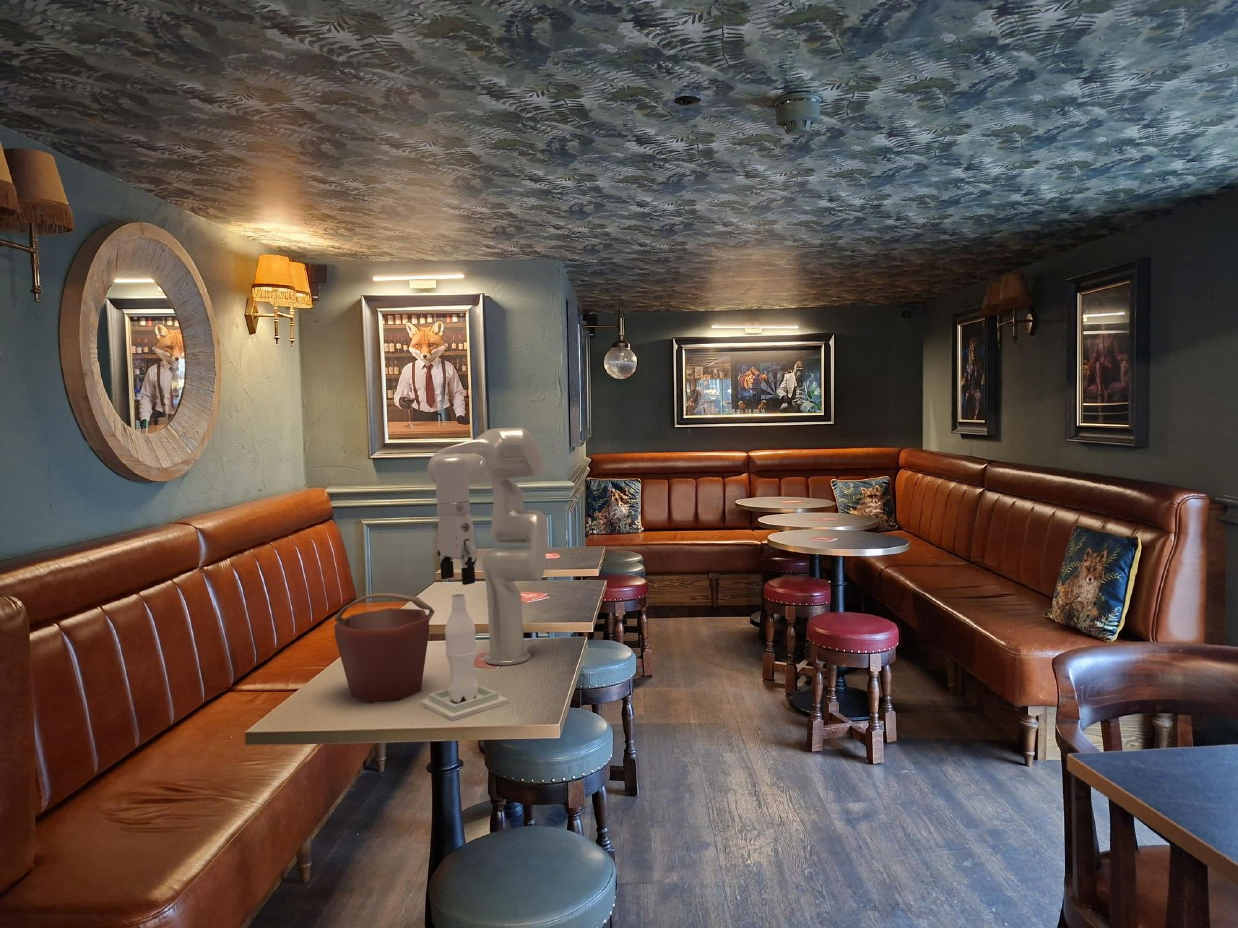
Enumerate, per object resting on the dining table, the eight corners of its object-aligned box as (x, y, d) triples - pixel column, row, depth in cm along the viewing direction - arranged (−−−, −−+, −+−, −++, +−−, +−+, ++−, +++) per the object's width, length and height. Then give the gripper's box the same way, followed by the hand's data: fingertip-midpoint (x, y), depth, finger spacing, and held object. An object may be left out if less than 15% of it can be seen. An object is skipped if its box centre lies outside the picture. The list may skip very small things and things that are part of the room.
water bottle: (447, 705, 184) (441, 599, 183) (449, 695, 191) (443, 593, 190) (478, 702, 186) (473, 597, 184) (479, 692, 193) (473, 591, 191)
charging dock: (474, 688, 199) (474, 678, 199) (507, 702, 188) (507, 692, 188) (420, 704, 189) (419, 694, 189) (451, 720, 178) (451, 710, 178)
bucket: (452, 680, 206) (447, 585, 204) (404, 712, 185) (398, 606, 183) (371, 675, 213) (366, 583, 212) (317, 704, 192) (310, 602, 191)
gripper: (487, 509, 182) (491, 583, 183) (449, 504, 195) (453, 573, 196) (458, 513, 177) (463, 589, 178) (421, 508, 190) (426, 578, 191)
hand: (458, 580), depth 187 cm, fingers open, 9 cm apart
